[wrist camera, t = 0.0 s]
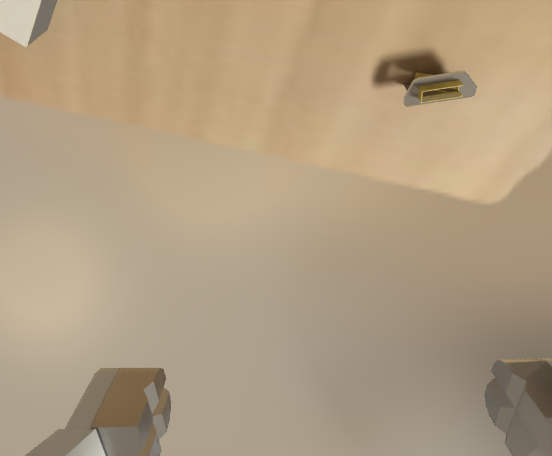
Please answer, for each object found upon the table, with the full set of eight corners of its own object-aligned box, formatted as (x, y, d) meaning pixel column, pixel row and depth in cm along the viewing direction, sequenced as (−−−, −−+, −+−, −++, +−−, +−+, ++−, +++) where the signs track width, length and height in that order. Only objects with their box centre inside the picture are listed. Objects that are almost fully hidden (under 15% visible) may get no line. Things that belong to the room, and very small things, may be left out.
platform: (371, 43, 54) (380, 61, 49) (503, 20, 52) (526, 37, 47) (369, 118, 62) (377, 140, 57) (483, 101, 60) (501, 122, 56)
